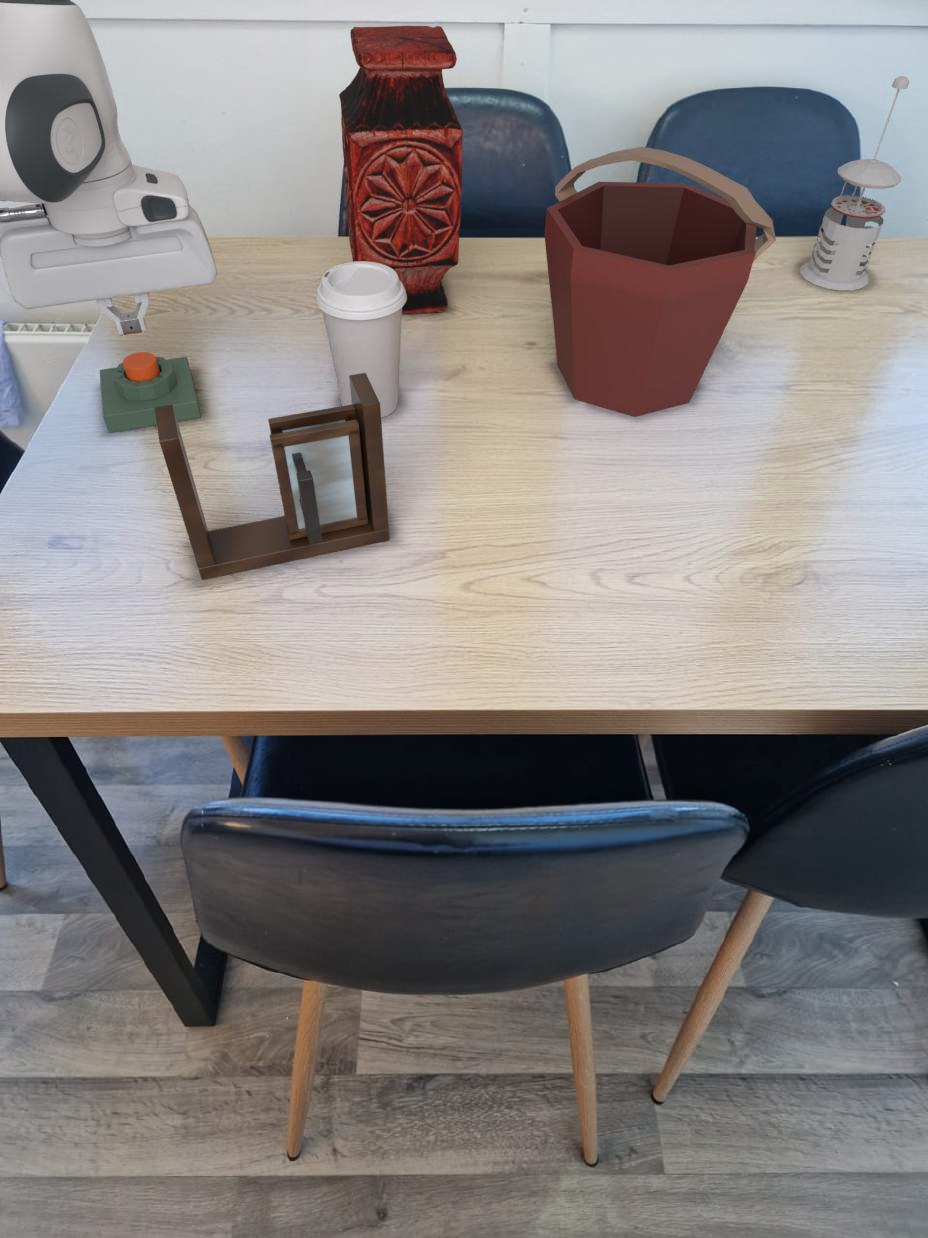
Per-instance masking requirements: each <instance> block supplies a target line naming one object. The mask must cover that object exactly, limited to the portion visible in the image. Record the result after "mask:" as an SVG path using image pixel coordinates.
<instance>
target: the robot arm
mask: <svg viewBox="0 0 928 1238" xmlns="http://www.w3.org/2000/svg"><path fill="white" fill-rule="evenodd" d="M99 48H100V47H99V45H98V42H97V40H96V38H95V35H94V32H93V30H92V27H91V26H90V23H89V21H88V19H87V16H86V15H85V14H84V11H83V10H82V8H81V7H80V6H79V5H78V4H77V3H75V2H73V1H72V0H0V202H15V203H26V205H21V206H16V207H0V258H1V263H2V267H3V271H4V275H5V279H6V282H7V286H8V290H9V292H10V294H11V295H10V296H11V297H12V300H13V302H14V303H16V304H17V305H19V306H20V307H22V308H23V309H25V310H32V309H34V310H35V309H39V308H40V309H41V308H47V307H55V306H61V305H71V304H76V303H77V304H78V303H83V302H92V301H96V304H97V307H98V309H99V310H100V311H101V312H102V313H103V314H104V315H105V316H106V317H108V319H110V321H112V322H113V323H114V325H115V327H116V330H117V333H118V336H119V337H121V336H126V335H127V336H128V335H132V334H133V335H134V334H141V333H147V332H148V329H147V324H146V323H147V322H146V320H145V316H146V313H147V310H148V307H149V304H150V299H149V293H156V292H163V291H170V290H178V289H185V288H191V287H193V288H194V287H198V286H208V285H212V284H213V283H214V282H215V280H216V278H217V276H218V269H217V265H216V261H215V257H214V254H213V250H212V248H211V244H210V241H209V239H208V236H207V233H206V231H205V227H204V226H203V223H202V221H201V217H200V216H199V214H198V213H197V211H196V209H195V208H194V207H193V206H192V205H191V204H190V201H189V196H188V192H187V189H186V187H185V184H184V183H183V181H182V179H181V178H180V176H179V175H177V174H175V173H172V172H167V171H163V170H159V169H152V168H148V167H143V166H139V165H134V164H133V162H132V159H131V155H130V153H129V151H128V149H127V148H126V146H125V144H124V142H123V140H122V137H121V135H120V130H119V126H118V106H117V102H116V99H115V95H114V92H113V88H112V84H111V81H110V77H109V73H108V71H107V67H106V65H105V62H104V58H103V56H102V52H101V50H100V49H99ZM27 203H28V204H27ZM127 296H133V299H134V302H135V304H136V306H135V307H136V308H135V310H133V311H127V312H120V311H119V310H118V309H117V308H116V307H115V306H114V305H113V298H120V297H127Z"/></svg>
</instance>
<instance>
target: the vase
mask: <svg viewBox="0 0 928 1238" xmlns="http://www.w3.org/2000/svg"><path fill="white" fill-rule="evenodd" d="M349 32H350V42H351V50H352V52H353V55H354V59H355V63H356V64H357V66H358V67H359V68H358V71H357V72H356V75H355V76H354V78H353V79H352V80H351V81H350V83H349V85H347V86H346V87H345V89H343V90H342V91H341V92H340V93H339V94H338V97H339V101H340V111H341V112H340V113H341V118H340V120H341V121H340V124H341V125H340V126H341V141H342V142H341V143H342V155H343V167H344V170H343V175H344V191H345V202H346V203H345V204H346V214H347V221H346V222H347V223H346V224H347V230H348V239H349V241H348V242H349V247H350V253H351V257H352V259H351V260H352V262H357V261H367V262H375V263H380V264H383V265H386V266H388V267H390V268H392V269H393V270H394V271H395V272H396V273H397V275H398V278H399V280H400V281H401V282H402V284H403V286H404V288H405V291H406V294H407V300H406V303H405V304H404V305H403V307H402V316H403V315H404V316H406V315H423V314H424V315H425V314H430V313H431V314H433V313H434V314H435V313H437V314H438V313H443V312H445V311H447V310H448V306H449V305H448V298H447V295H446V293H445V288H444V286H443V282H442V281H443V279H444V277H445V276H446V274H447V273H448V271H449V270H450V269H452V268H454V267H456V266H458V264H459V261H460V260H459V259H460V256H459V252H460V227H461V220H462V219H461V217H462V216H461V215H462V191H463V160H462V159H463V157H462V151H463V149H462V148H463V135H464V133H463V128H462V126H461V123H460V121H459V119H458V116H457V114H456V112H455V108H454V106H453V105H452V103H451V100H450V98H449V96H448V95H447V92H446V87H445V82H444V76H443V70H450V69H454V68H455V66H456V65H457V60H458V59H457V54H456V50H455V49H454V47H453V45H452V44H451V42H450V40H449V38H448V36H447V35H446V32H445V30H444V29H443V27H442V26H441V25H436V26H428V25H391V26H390V25H389V26H387V25H386V26H354V27H353V28H352V29H350V31H349Z"/></svg>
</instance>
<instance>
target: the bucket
mask: <svg viewBox="0 0 928 1238" xmlns="http://www.w3.org/2000/svg"><path fill="white" fill-rule="evenodd" d="M630 161H633V162H638V163H643V164H650V165H654V166H657V167H661V168H664V169H668V170H671V171H673V172H676V173H678V174H680V175H682V176H684V177H685V178H688V179H690V180H692V181H694V182H696V183H697V184H698V185H700V186H702V187H704V188H706V189H708V190H709V191H711V192H712V193H714V194H712V193H710V192H708V191H705V190H703V189H700V188H698V187H696V186H693V185H691V184H688V183H676V182H672V183H671V182H635V181H633V182H632V181H631V182H629V181H597V182H595V183H593V184H592V185H589V186H587V187H585V188H583V189H582V190H580V191H577V190H576V188H575V187H574V186H573V185H574V184H575V183H576V182H577V181H578V180H579V179H580V178H581V177H582V176H583V175H584V174H585V173H586V172H587V171H590V170H593V169H595V168H598V167H603V166H606V165H611V164H617V163H624V162H630ZM715 194H716V195H715ZM717 195H718V196H717ZM554 196H555V197H556V199H557V200H558V202H556V203H554V204H553V205H551V206H548V207H547V208H546V213H545V214H546V215H545V225H544V243H545V254H546V264H547V265H546V266H547V274H548V285H549V293H550V304H551V313H552V314H551V315H552V322H553V333H554V342H555V343H554V344H555V353H556V361H557V364H556V365H557V368H558V369H559V371H560V373H561V375H562V377H563V379H564V381H565V383H566V385H567V387H568V389H569V391H570V392H571V394H572V396H573V398H574V400H575V401H578V402H582V403H586V404H588V405H589V404H590V405H593V406H596V407H600V408H603V409H606V410H610V411H614V412H617V413H621V414H624V415H628V416H631V417H635V418H637V417H640V416H643V415H648V414H651V413H654V412H658V411H659V412H660V411H662V410H665V409H670V408H672V407H673V408H674V407H677V406H681V405H684V404H688V403H690V401H691V399H692V398H693V395H694V394H695V391H696V389H697V387H698V385H699V383H700V381H701V379H702V377H703V375H704V373H705V371H706V369H707V367H708V365H709V362H710V360H711V358H712V356H713V354H714V353H715V350H716V348H717V346H718V344H719V342H720V340H721V337H722V336H723V333H724V332H725V330H726V327H727V325H728V324H729V321H730V319H731V317H732V315H733V313H734V311H735V309H736V307H737V304H738V303H739V301H740V299H741V297H742V294H743V292H744V290H745V288H746V286H747V284H748V281H749V278H750V275H751V271H752V268H753V263H754V261H756V260H757V259H758V258H759V257H760V256H762V254H763V253H764V252H766V251H767V250H768V249H769V248H770V247H771V246H772V245H773V244H774V243H775V242H777V237H776V233H775V227H774V221H773V219H772V218H771V216H769V214H768V213H767V211H766V210H765V209H763V207H762V206H761V205H760V204H759V203H758V202H757V201H756V200H755V198H754V196H753V195H752V193H751V192H750V190H749V189H748V188H747V187H746V186H744V185H742V184H741V183H738V182H736V181H734V180H733V179H731V178H729V177H727V176H726V175H723V174H721V173H720V172H718V171H716V170H714V169H712V168H711V167H709V166H706V165H704V164H703V163H700V162H698V161H696V160H694V159H691V158H689V157H686V156H684V155H679V154H676V153H673V152H670V151H666V150H663V149H658V148H652V147H646V146H640V147H639V146H638V147H634V148H626V149H622V150H617V151H613V152H609V153H606V154H603V155H601V156H598V157H595V158H591V159H588V160H586V161H584V162H582V163H580V164H578V165H576V166H574V167H573V168H572V169H571V170H570V171H569V172H568V173H567V174H565V176H563V178H562V179H561V180H559V182H558V183H557V184H556V185H555V186H554ZM757 228H758V229H761V230H763V233H762V234H761V235H759V236H758V237H757Z"/></svg>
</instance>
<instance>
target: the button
mask: <svg viewBox="0 0 928 1238" xmlns="http://www.w3.org/2000/svg"><path fill="white" fill-rule="evenodd" d="M156 357H157V356H156V355H155V354H154V353H152V352H148V351H139V352H134V353H133V352H132V353H130V354H129V355H127V356H126V357H125V358H123V360H122V363H123V366H124V369H125V372H126V375H127V378H128V379H129V380H131V381H139V382H140V381H146V380H150V379H152V378H154V377H157V376H158V375H159V374H160V370H159V366H158V363H157V359H156Z"/></svg>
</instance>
